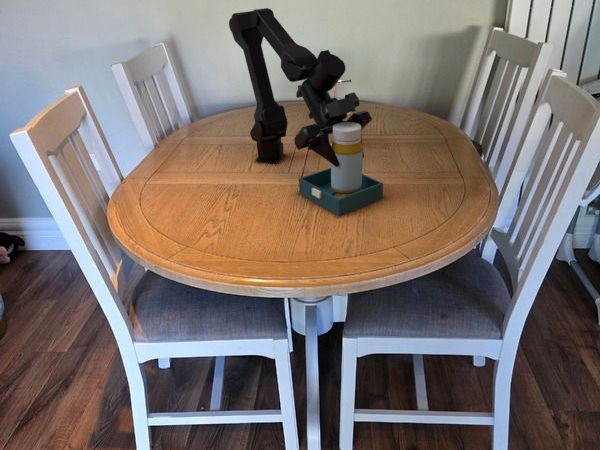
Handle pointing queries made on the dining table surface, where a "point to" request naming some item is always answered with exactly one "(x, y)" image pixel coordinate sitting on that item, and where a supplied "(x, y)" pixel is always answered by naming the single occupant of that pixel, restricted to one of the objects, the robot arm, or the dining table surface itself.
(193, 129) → the dining table surface
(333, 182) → the bottle
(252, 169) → the dining table surface
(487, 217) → the dining table surface
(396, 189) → the dining table surface
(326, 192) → the teal square tray
